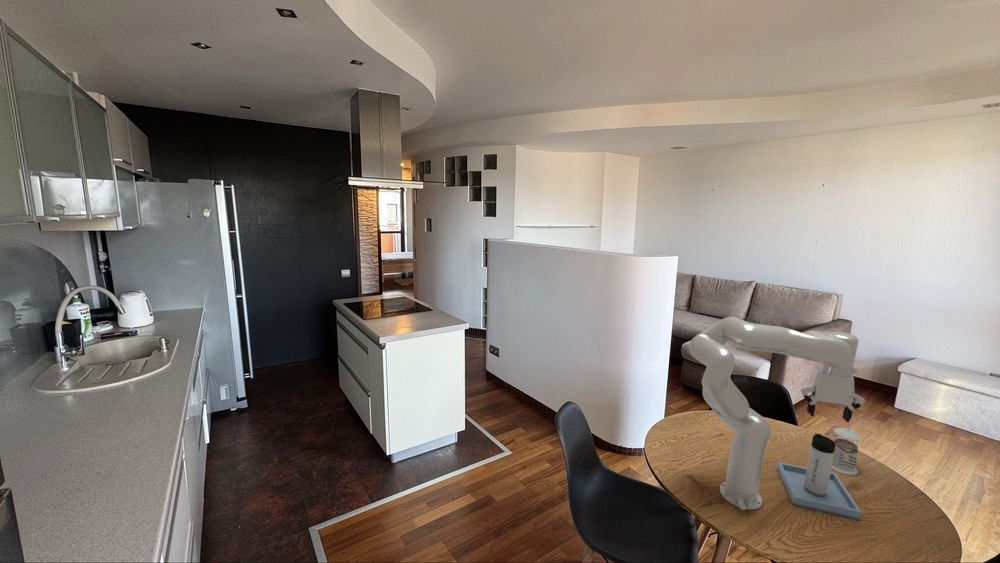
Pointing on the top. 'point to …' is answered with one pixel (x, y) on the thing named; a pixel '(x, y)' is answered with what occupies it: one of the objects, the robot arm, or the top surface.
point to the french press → (839, 461)
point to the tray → (832, 503)
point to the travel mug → (819, 465)
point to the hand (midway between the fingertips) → (827, 417)
